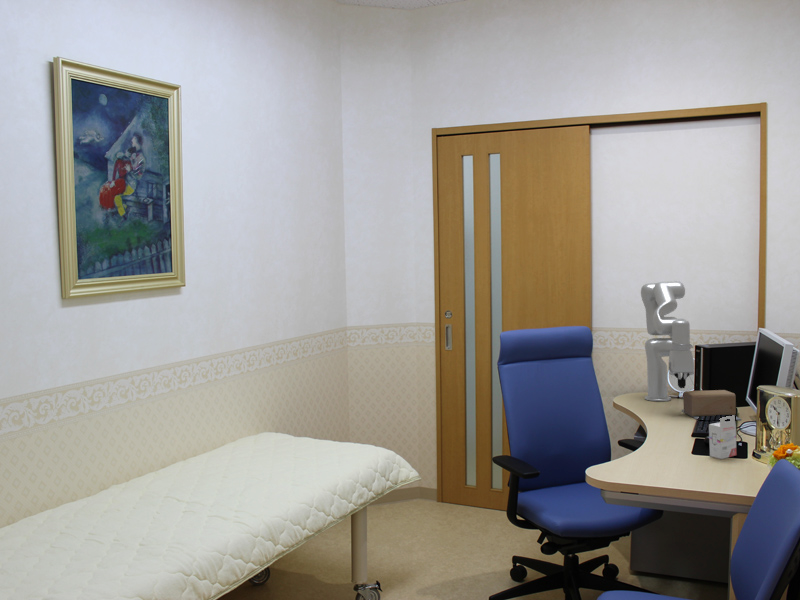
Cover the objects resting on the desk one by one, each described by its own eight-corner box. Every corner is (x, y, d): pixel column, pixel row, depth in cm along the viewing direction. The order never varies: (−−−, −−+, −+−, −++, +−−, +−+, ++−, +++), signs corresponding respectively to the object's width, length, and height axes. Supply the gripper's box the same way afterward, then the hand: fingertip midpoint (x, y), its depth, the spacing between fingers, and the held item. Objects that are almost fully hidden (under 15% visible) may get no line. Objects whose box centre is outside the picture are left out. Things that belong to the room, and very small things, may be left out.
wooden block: (691, 416, 300) (736, 415, 299) (691, 394, 299) (736, 393, 299) (682, 412, 310) (726, 411, 309) (682, 390, 309) (726, 389, 309)
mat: (681, 410, 315) (681, 409, 315) (720, 410, 314) (720, 408, 314) (699, 421, 293) (699, 419, 293) (741, 420, 292) (741, 419, 292)
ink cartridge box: (724, 452, 244) (723, 412, 243) (737, 455, 239) (736, 414, 239) (708, 456, 240) (708, 415, 239) (721, 459, 235) (720, 418, 235)
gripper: (694, 346, 307) (695, 385, 307) (661, 347, 308) (662, 386, 308) (701, 348, 299) (701, 388, 300) (666, 348, 300) (667, 389, 301)
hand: (681, 387), depth 304 cm, fingers closed
